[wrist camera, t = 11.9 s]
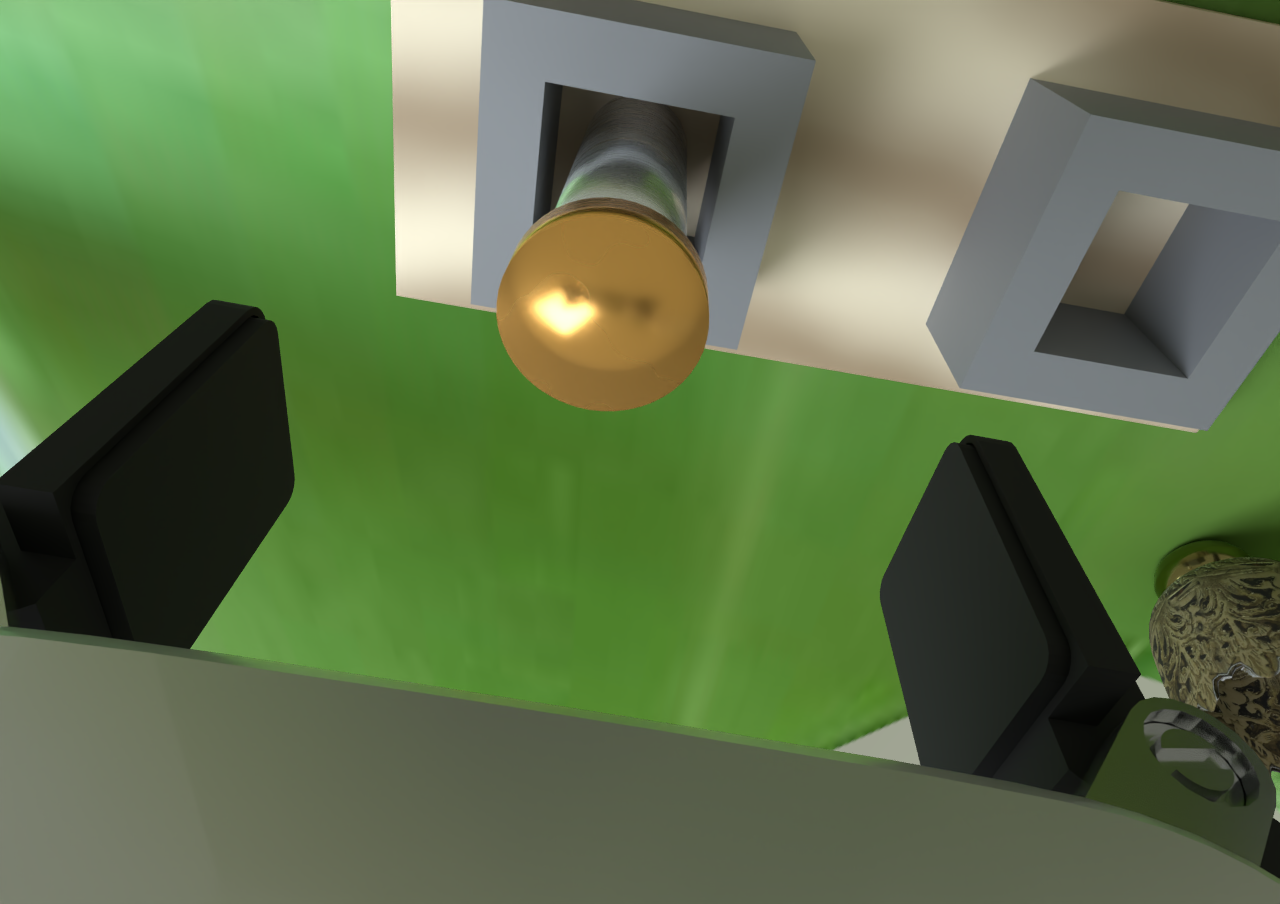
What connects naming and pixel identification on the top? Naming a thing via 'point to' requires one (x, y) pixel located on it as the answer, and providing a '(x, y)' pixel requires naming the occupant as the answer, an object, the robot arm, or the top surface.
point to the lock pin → (611, 270)
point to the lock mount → (1063, 231)
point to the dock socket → (651, 71)
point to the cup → (1222, 639)
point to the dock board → (854, 154)
